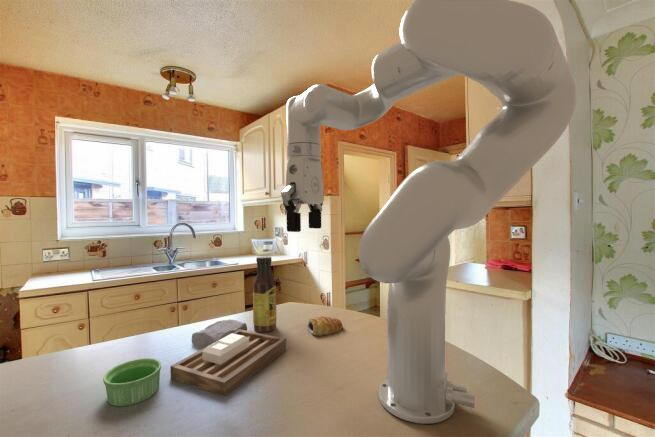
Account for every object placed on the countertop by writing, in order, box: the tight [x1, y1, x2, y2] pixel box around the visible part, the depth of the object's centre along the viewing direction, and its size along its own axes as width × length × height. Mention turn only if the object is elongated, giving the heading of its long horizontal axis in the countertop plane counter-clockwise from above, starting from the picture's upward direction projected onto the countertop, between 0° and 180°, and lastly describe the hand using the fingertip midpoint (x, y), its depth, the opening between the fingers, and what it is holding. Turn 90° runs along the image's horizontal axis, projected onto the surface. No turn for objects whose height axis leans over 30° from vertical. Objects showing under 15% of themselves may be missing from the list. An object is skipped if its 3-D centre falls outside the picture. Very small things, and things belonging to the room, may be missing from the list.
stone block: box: [191, 319, 248, 349], centre depth 80 cm, size 12×5×10 cm
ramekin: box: [102, 357, 162, 407], centre depth 57 cm, size 9×9×4 cm
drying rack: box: [169, 329, 287, 397], centre depth 68 cm, size 14×20×2 cm
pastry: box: [306, 316, 343, 337], centre depth 85 cm, size 9×7×4 cm
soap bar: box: [202, 333, 249, 365], centre depth 68 cm, size 5×9×3 cm, turn 155°
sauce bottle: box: [252, 255, 277, 333], centre depth 86 cm, size 6×6×20 cm
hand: (305, 229), depth 71 cm, fingers open, 9 cm apart
